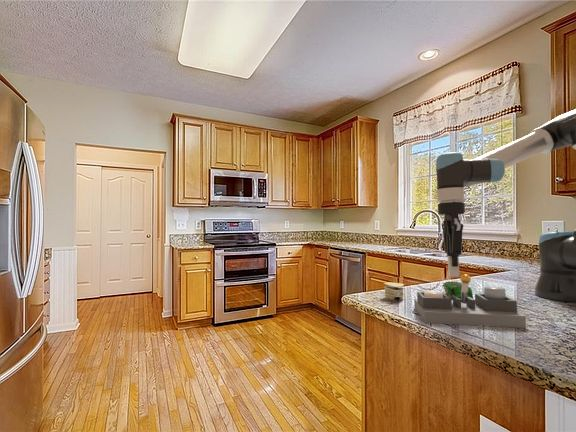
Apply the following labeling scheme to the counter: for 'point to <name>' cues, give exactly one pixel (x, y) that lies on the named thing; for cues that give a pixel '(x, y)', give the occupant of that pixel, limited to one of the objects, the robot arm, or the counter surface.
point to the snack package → (455, 289)
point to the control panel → (469, 311)
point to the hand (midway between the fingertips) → (453, 276)
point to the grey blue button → (494, 293)
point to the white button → (433, 294)
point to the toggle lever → (464, 287)
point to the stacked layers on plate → (394, 291)
